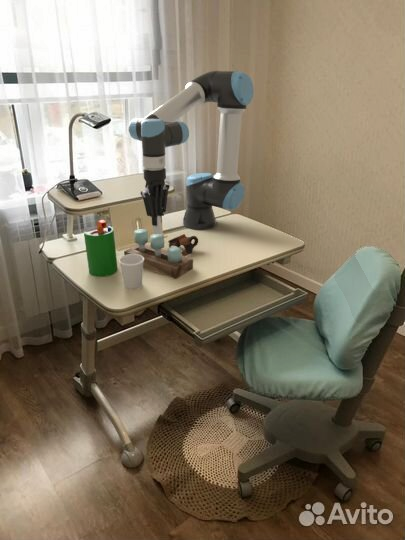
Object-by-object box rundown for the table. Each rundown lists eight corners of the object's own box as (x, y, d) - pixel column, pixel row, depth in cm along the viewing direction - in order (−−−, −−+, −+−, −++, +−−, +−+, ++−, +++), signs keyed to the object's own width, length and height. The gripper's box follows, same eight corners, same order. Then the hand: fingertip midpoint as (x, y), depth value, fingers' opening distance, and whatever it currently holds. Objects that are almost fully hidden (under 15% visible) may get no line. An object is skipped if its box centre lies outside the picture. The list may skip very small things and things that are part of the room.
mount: (142, 252, 172) (142, 242, 171) (192, 268, 159) (192, 258, 158) (124, 260, 165) (124, 251, 163) (175, 278, 152) (175, 268, 150)
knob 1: (141, 247, 168) (140, 228, 164) (151, 250, 166) (150, 231, 162) (132, 251, 164) (131, 232, 161) (142, 254, 162) (141, 235, 158)
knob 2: (157, 252, 164) (156, 232, 160) (167, 255, 161) (166, 235, 158) (148, 257, 160) (147, 236, 157) (158, 260, 158) (157, 240, 154)
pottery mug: (177, 260, 167) (168, 240, 166) (172, 261, 176) (164, 242, 175) (204, 248, 170) (196, 228, 169) (198, 249, 179) (190, 231, 178)
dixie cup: (128, 294, 143) (125, 266, 138) (116, 284, 149) (114, 257, 144) (150, 287, 147) (148, 260, 142) (138, 277, 153) (136, 251, 148)
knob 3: (173, 265, 161) (173, 245, 158) (184, 269, 159) (184, 249, 155) (165, 270, 158) (164, 250, 154) (175, 274, 155) (175, 253, 151)
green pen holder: (107, 262, 163) (102, 212, 154) (123, 269, 158) (119, 218, 149) (85, 272, 156) (78, 220, 147) (101, 279, 151) (95, 226, 142)
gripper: (149, 173, 139) (153, 241, 150) (175, 165, 149) (176, 229, 159) (132, 169, 143) (137, 236, 154) (158, 162, 153) (161, 225, 163)
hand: (157, 232), depth 157 cm, fingers closed
